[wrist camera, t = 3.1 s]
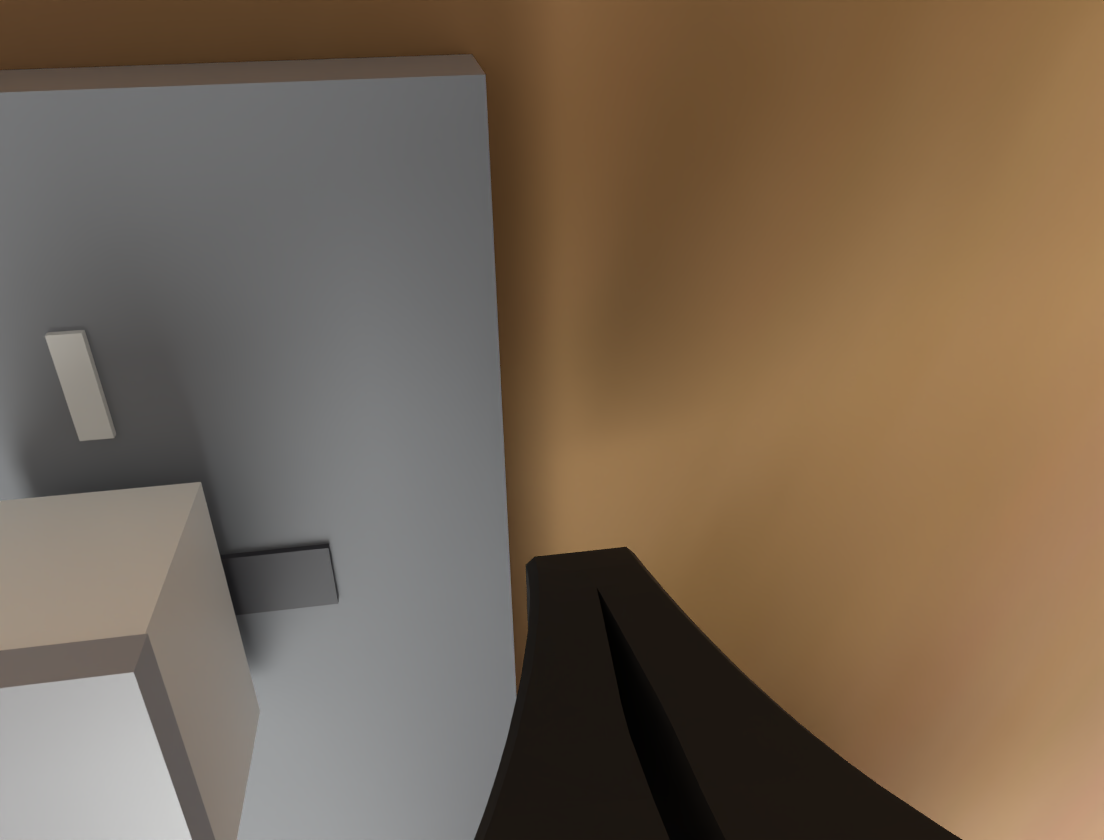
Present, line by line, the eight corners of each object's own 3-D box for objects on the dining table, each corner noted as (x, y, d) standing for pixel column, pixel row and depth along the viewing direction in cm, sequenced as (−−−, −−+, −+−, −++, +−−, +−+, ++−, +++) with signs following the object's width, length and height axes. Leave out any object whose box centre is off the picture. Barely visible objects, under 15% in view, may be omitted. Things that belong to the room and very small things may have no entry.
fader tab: (205, 478, 11) (132, 672, 8) (263, 712, 13) (225, 934, 10) (-13, 497, 10) (-172, 708, 7) (83, 736, 12) (-11, 973, 9)
